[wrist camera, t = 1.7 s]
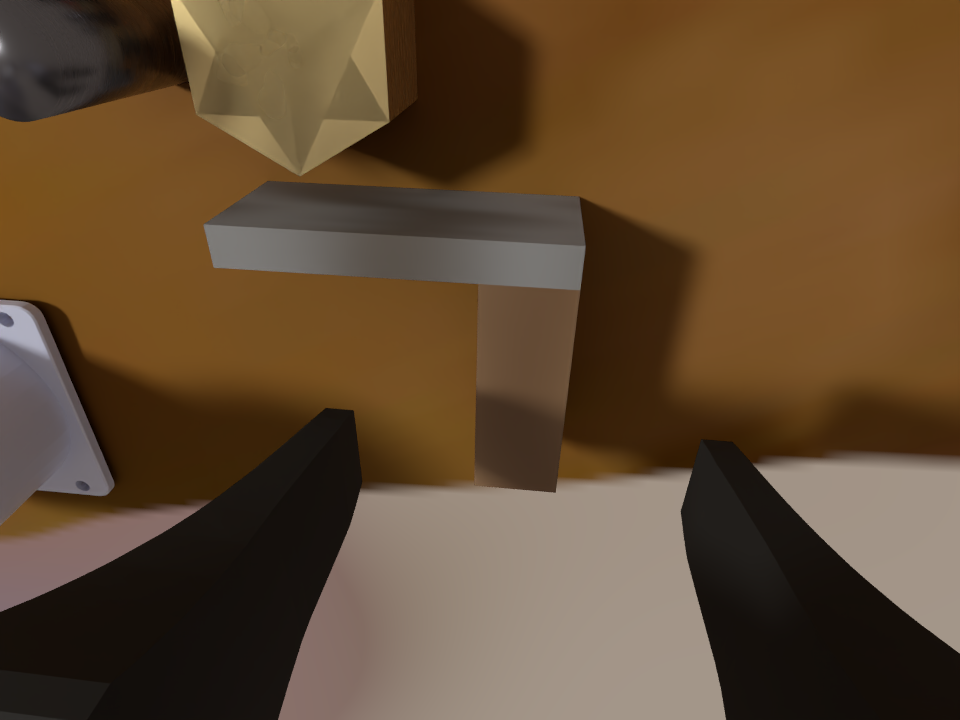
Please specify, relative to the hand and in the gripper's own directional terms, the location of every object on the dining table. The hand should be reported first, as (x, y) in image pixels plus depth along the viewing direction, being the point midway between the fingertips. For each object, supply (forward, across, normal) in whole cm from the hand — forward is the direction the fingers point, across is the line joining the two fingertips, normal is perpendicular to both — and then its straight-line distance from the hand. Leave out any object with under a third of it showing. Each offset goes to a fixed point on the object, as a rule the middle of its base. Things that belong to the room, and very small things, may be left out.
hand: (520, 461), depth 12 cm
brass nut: (+6, +5, -7) cm, 11 cm away
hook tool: (+6, +3, -1) cm, 7 cm away
